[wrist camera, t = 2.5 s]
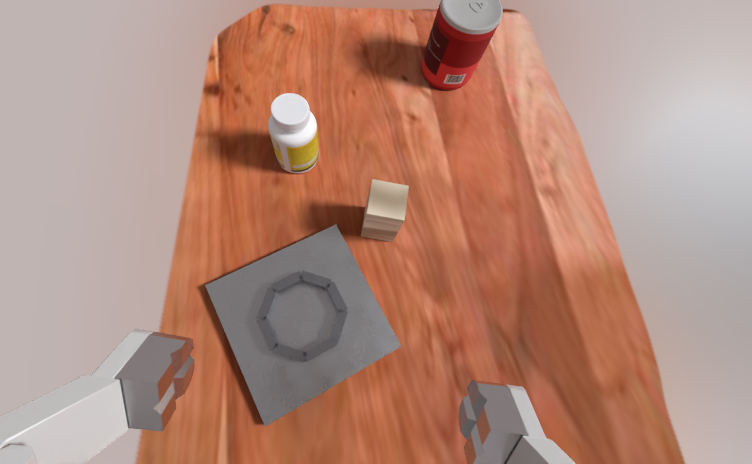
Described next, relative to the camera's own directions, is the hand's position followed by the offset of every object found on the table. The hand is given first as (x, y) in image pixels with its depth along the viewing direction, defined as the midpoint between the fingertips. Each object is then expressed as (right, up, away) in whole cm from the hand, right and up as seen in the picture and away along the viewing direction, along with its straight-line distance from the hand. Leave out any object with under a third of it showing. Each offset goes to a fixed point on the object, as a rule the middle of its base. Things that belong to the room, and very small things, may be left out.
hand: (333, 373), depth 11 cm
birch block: (+2, +5, +35) cm, 35 cm away
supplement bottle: (-9, +14, +37) cm, 40 cm away
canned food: (+12, +28, +44) cm, 54 cm away
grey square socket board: (-7, -6, +30) cm, 32 cm away
